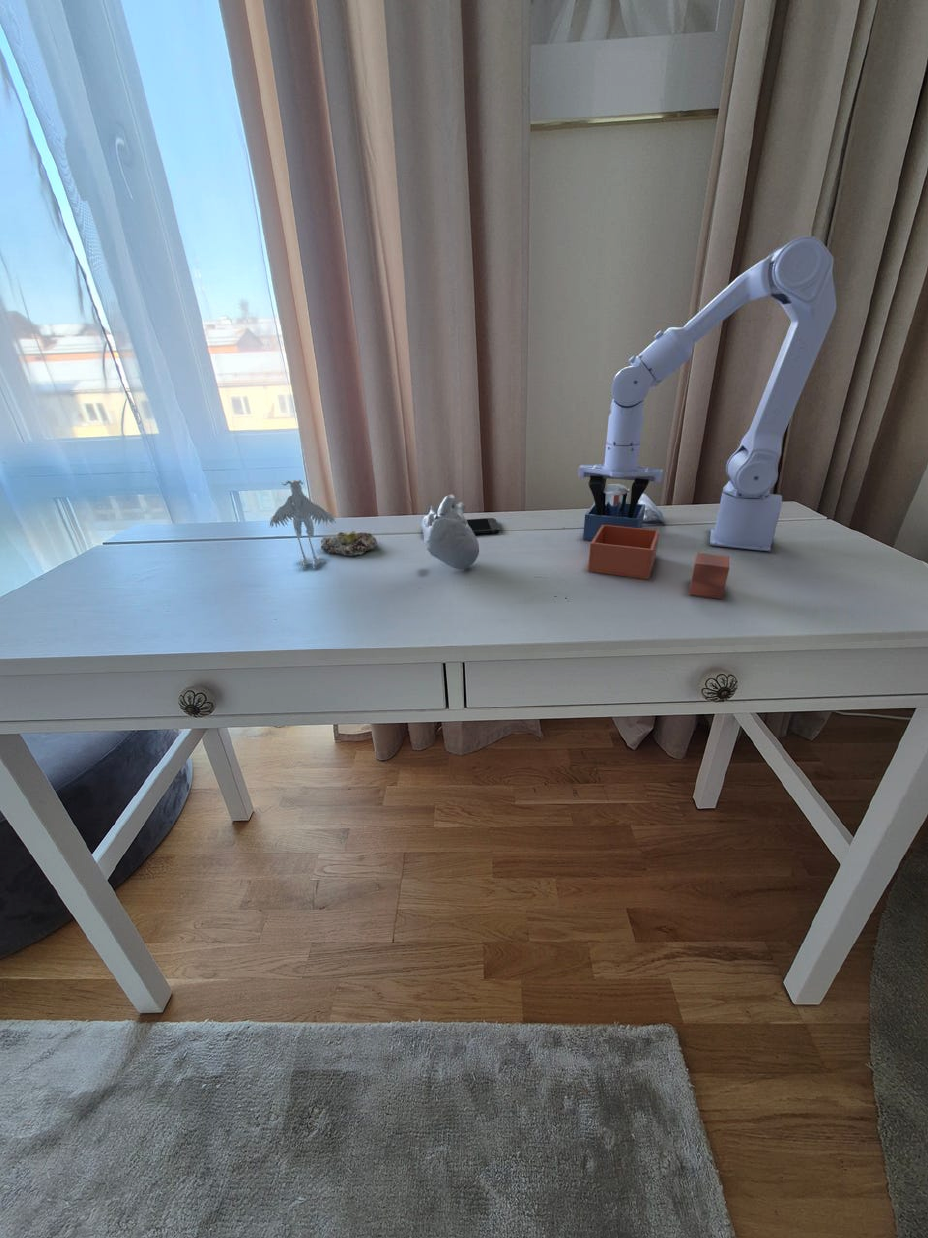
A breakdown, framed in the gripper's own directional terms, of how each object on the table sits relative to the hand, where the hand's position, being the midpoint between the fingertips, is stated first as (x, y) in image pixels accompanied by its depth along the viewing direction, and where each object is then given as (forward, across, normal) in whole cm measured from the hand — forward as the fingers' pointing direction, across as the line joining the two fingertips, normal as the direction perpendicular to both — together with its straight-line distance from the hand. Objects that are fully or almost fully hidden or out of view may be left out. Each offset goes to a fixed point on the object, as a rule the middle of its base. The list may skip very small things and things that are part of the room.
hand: (614, 517), depth 95 cm
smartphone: (+3, -29, -7) cm, 30 cm away
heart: (+3, -23, -24) cm, 33 cm away
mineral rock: (+4, -45, -23) cm, 51 cm away
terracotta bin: (+3, +4, -14) cm, 15 cm away
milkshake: (+3, 0, 0) cm, 3 cm away
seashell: (+3, +5, +10) cm, 12 cm away
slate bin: (+3, 0, 0) cm, 3 cm away
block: (+3, +17, -20) cm, 26 cm away
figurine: (+4, -47, -32) cm, 57 cm away
